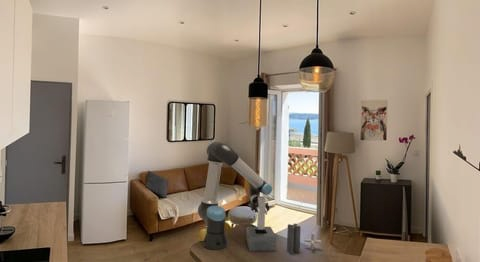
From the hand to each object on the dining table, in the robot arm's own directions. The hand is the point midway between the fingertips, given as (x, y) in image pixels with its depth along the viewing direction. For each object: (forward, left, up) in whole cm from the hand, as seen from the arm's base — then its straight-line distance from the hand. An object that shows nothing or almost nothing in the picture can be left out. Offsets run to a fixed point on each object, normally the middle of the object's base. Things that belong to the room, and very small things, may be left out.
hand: (262, 212), depth 182 cm
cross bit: (+18, +6, -23) cm, 30 cm away
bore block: (-3, +5, -23) cm, 24 cm away
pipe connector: (+28, +15, -23) cm, 39 cm away
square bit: (-3, +5, -12) cm, 13 cm away
